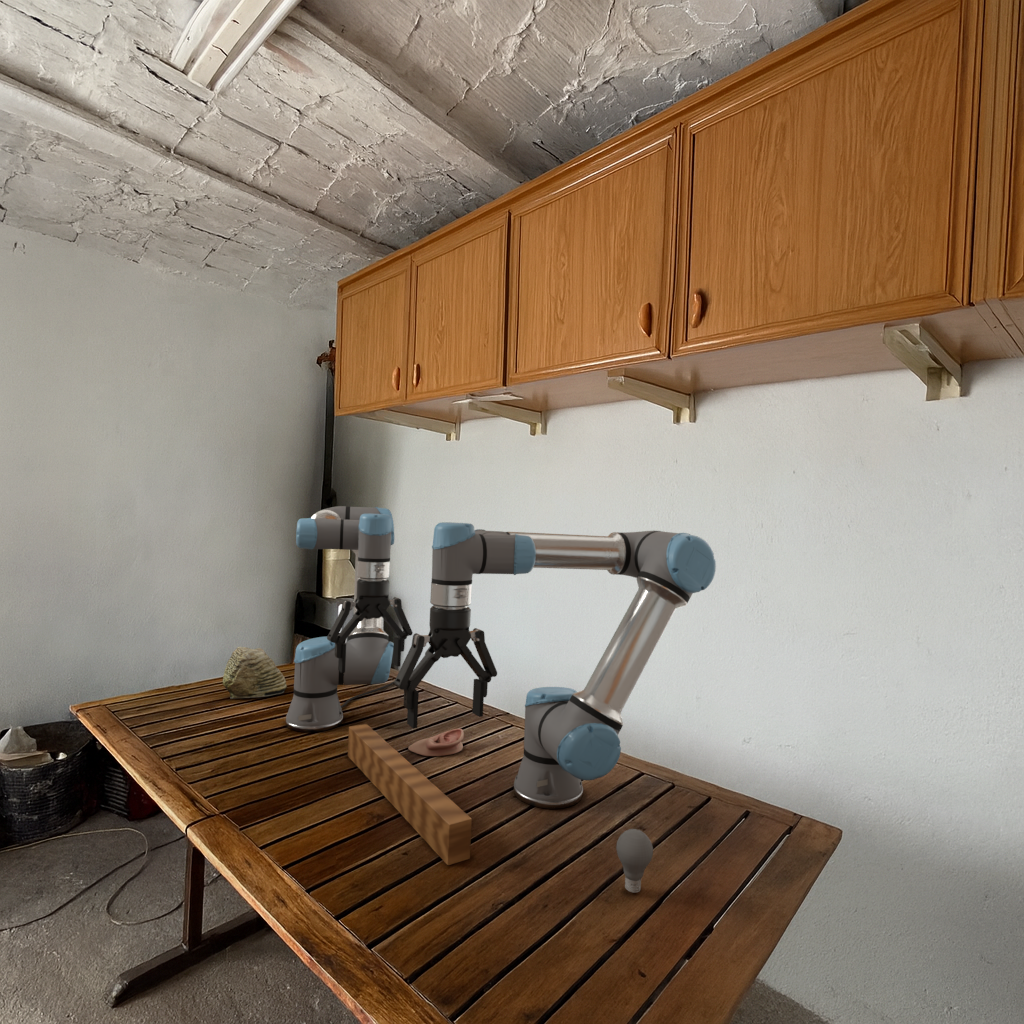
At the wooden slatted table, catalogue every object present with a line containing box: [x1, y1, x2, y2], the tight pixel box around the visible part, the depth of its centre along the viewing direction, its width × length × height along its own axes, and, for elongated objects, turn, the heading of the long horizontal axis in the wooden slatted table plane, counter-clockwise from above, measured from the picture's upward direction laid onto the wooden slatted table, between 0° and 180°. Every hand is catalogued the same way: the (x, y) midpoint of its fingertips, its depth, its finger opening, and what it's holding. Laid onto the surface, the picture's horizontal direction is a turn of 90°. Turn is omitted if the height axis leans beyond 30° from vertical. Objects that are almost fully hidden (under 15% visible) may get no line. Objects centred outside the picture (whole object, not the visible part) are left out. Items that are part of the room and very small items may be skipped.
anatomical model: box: [408, 728, 465, 757], centre depth 162 cm, size 13×4×12 cm
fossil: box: [222, 646, 288, 699], centre depth 198 cm, size 9×18×15 cm, turn 132°
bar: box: [347, 723, 473, 866], centre depth 134 cm, size 53×4×7 cm, turn 33°
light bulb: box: [615, 828, 654, 894], centre depth 106 cm, size 6×6×10 cm
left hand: (369, 668), depth 150 cm, fingers open, 13 cm apart
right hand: (445, 720), depth 117 cm, fingers open, 13 cm apart
